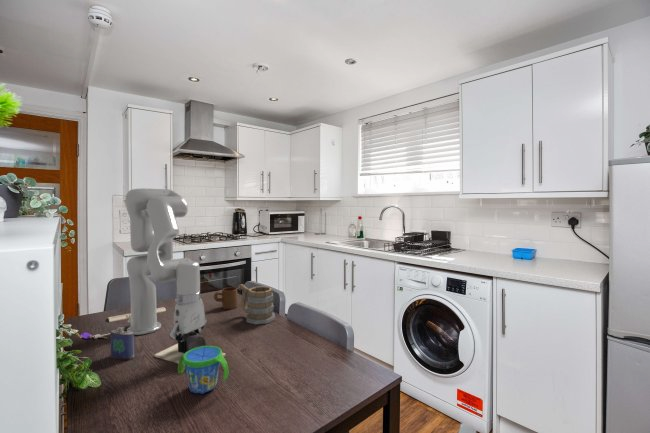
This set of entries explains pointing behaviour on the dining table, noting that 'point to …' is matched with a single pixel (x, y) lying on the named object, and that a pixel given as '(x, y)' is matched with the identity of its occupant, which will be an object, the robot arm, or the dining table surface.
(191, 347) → the perforated stone tool
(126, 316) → the newspaper
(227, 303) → the mug
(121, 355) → the flask
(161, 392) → the dining table surface
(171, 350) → the birch board
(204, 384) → the snack cup
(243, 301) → the tankard
